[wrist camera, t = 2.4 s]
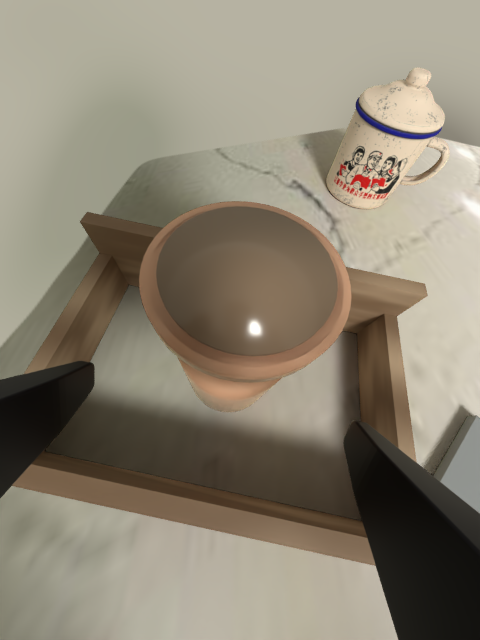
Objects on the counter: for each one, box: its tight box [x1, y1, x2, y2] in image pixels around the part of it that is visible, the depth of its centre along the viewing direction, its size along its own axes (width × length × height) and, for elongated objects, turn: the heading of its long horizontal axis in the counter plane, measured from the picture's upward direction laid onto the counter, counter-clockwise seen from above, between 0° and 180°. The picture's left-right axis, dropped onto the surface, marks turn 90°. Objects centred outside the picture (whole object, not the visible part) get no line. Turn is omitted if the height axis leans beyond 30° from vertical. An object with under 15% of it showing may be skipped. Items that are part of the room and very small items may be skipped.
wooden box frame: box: [12, 212, 428, 566], centre depth 16 cm, size 16×24×7 cm, turn 79°
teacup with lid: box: [326, 68, 449, 209], centre depth 27 cm, size 12×9×12 cm
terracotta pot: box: [139, 201, 351, 412], centre depth 13 cm, size 7×7×13 cm
